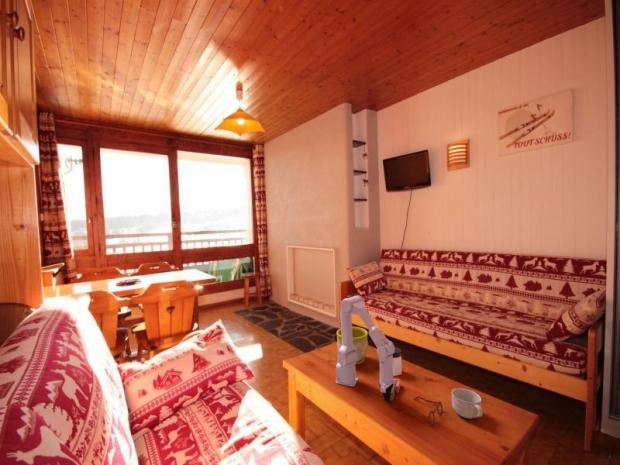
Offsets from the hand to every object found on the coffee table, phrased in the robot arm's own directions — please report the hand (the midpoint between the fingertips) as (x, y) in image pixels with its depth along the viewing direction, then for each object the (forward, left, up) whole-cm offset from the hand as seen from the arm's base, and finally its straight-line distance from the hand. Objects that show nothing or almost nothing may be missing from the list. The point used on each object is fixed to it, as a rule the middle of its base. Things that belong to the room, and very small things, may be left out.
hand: (386, 399), depth 130 cm
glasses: (+15, -1, -2) cm, 15 cm away
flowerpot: (-26, +32, -1) cm, 41 cm away
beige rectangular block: (0, +6, -1) cm, 6 cm away
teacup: (+32, +3, -1) cm, 32 cm away
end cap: (0, +12, -1) cm, 12 cm away
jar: (-2, +27, -1) cm, 27 cm away
